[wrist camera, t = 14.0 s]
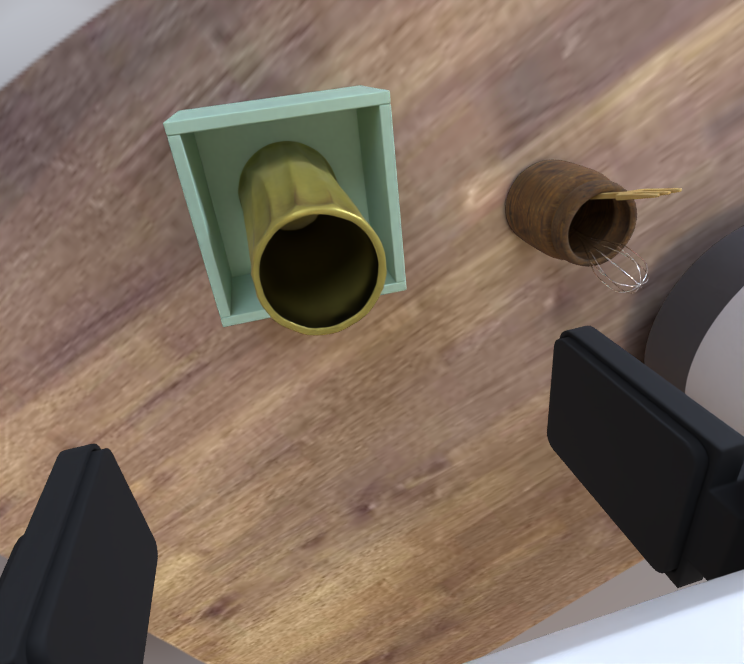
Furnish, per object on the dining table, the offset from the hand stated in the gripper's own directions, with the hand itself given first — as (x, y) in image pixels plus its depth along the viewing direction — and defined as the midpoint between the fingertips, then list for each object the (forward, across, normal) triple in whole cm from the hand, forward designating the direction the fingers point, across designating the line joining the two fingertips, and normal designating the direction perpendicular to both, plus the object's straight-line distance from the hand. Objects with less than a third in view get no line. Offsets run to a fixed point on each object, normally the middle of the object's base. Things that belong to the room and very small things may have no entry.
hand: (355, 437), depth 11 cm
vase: (+24, -1, 0) cm, 24 cm away
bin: (+24, -1, 0) cm, 25 cm away
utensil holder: (+24, -19, +4) cm, 31 cm away
